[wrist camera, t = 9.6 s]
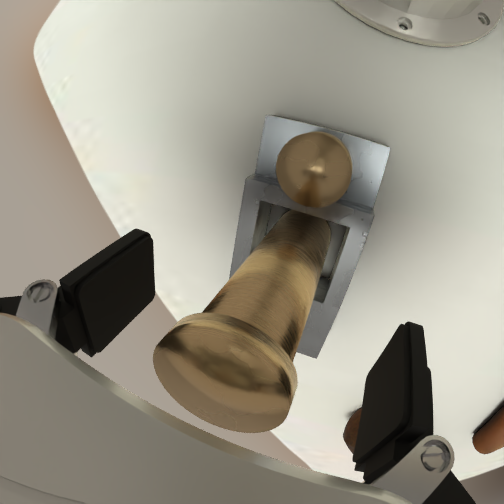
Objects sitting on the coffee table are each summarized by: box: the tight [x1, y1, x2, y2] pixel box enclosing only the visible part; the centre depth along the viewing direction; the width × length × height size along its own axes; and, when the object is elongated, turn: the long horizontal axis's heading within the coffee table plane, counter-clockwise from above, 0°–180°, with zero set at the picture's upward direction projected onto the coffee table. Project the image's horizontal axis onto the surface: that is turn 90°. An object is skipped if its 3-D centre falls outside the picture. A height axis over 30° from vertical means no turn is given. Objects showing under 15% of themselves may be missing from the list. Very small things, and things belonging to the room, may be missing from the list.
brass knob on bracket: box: [229, 115, 390, 359], centre depth 17 cm, size 14×7×4 cm, turn 170°
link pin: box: [153, 209, 331, 433], centre depth 14 cm, size 4×4×13 cm
